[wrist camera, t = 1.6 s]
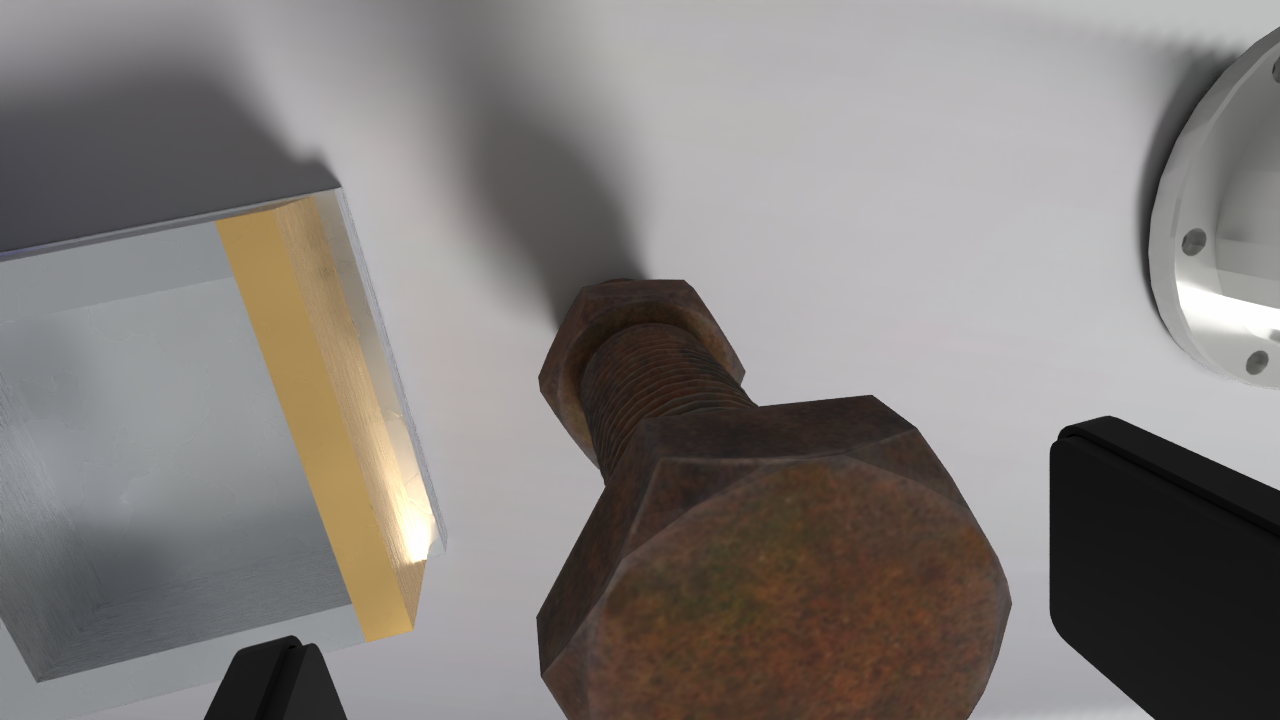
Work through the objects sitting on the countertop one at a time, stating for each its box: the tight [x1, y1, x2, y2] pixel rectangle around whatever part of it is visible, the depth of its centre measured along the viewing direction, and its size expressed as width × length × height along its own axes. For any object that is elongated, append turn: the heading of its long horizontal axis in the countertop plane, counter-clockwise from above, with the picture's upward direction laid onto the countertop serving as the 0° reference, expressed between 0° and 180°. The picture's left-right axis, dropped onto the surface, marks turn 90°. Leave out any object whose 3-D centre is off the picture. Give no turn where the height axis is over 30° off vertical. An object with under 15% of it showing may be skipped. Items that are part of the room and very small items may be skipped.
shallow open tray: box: [0, 187, 448, 720], centre depth 19 cm, size 11×11×4 cm
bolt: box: [536, 278, 1012, 720], centre depth 15 cm, size 6×5×15 cm
